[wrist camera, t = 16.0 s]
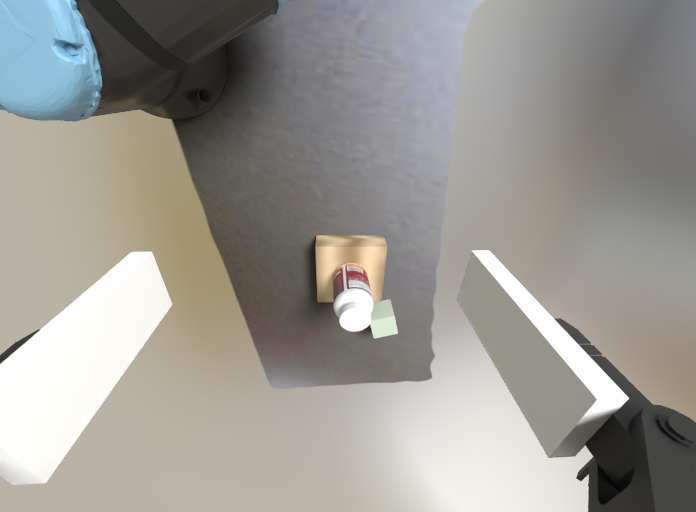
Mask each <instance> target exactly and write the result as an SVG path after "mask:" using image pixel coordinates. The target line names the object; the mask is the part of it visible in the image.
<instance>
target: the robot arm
mask: <svg viewBox="0 0 696 512" xmlns="http://www.w3.org/2000/svg"><path fill="white" fill-rule="evenodd" d="M290 1H291V0H0V109H1V110H5V111H7V112H9V113H13V114H15V115H17V116H20V117H24V118H28V119H34V120H64V121H79V120H81V119H87V118H88V117H91V116H98V115H105V114H111V113H118V112H125V111H131V110H138V109H141V110H143V111H145V112H147V113H150V114H152V115H155V116H159V117H163V118H168V119H185V118H190V117H194V116H197V115H200V114H202V113H204V112H206V111H207V110H209V109H210V108H211V107H212V106H213V105H214V104H215V103H216V102H217V101H218V99H219V98H220V96H221V94H222V92H223V90H224V87H225V84H226V79H227V70H228V62H227V53H226V47H225V43H227V42H229V41H230V40H232V39H233V38H235V37H236V36H238V35H240V34H241V33H243V32H244V31H246V30H247V29H249V28H251V27H252V26H254V25H255V24H257V23H258V22H260V21H262V20H263V19H265V18H266V17H268V16H269V15H271V14H273V15H277V14H279V13H280V11H281V10H282V9H283V7H284V5H285V4H287V3H288V2H290ZM457 301H458V303H459V305H460V306H461V308H462V310H463V312H464V313H465V315H466V317H467V318H468V320H469V322H470V324H471V325H472V327H473V329H474V330H475V332H476V334H477V335H478V337H479V339H480V341H481V343H482V344H483V346H484V348H485V349H486V351H487V353H488V354H489V356H490V358H491V360H492V361H493V363H494V365H495V366H496V368H497V370H498V372H499V373H500V375H501V377H502V379H503V380H504V382H505V384H506V385H507V387H508V389H509V391H510V392H511V394H512V396H513V397H514V399H515V401H516V403H517V404H518V406H519V407H520V409H521V411H522V413H523V415H524V416H525V418H526V420H527V421H528V423H529V425H530V427H531V428H532V430H533V432H534V433H535V435H536V437H537V439H538V440H539V442H540V444H541V446H542V447H543V449H544V451H545V452H546V454H547V456H548V457H549V458H552V457H571V456H575V455H576V454H577V453H578V452H579V451H580V450H581V449H582V448H583V447H584V446H585V445H586V446H587V448H588V449H589V451H590V452H591V454H592V455H593V456H594V457H593V458H592V459H591V460H590V461H589V462H588V463H587V464H586V465H585V466H584V467H583V468H582V469H581V470H580V471H579V472H578V475H577V479H578V480H580V481H582V480H583V479H584V478H585V477H586V476H587V475H588V474H589V484H588V486H589V503H588V504H589V505H588V512H696V423H695V422H694V421H693V420H691V419H690V418H688V417H686V416H685V415H683V414H681V413H679V412H677V411H675V410H673V409H670V408H667V407H664V406H661V405H653V404H652V403H651V402H650V401H649V400H647V399H646V398H645V397H644V396H643V395H642V394H641V393H640V392H639V391H638V390H637V389H636V388H635V387H634V386H633V385H632V384H631V383H630V382H629V381H628V380H627V379H626V378H625V377H624V376H623V375H622V374H621V373H620V372H619V371H618V370H617V369H616V368H615V367H614V366H613V365H612V364H611V363H610V362H609V361H608V360H607V359H606V358H605V357H602V354H601V353H600V352H599V351H598V350H597V349H596V348H595V347H594V346H592V345H591V343H590V342H589V341H588V340H587V339H586V338H585V337H584V336H583V335H582V334H581V333H580V332H579V331H578V330H577V329H576V328H574V327H573V326H571V325H570V324H568V323H566V322H565V321H564V320H562V319H554V318H553V317H552V316H551V315H550V314H548V312H547V311H546V310H545V309H544V308H543V307H542V306H541V305H540V304H539V303H538V302H537V301H536V300H535V298H534V297H533V296H532V295H531V294H530V293H529V292H528V291H527V290H526V289H525V288H524V287H523V286H522V285H521V284H520V283H519V282H518V280H517V279H516V278H515V277H514V276H513V275H512V274H511V273H510V272H509V271H508V270H507V269H506V268H505V267H504V266H503V265H502V264H501V263H500V262H499V260H498V259H497V258H495V256H494V255H493V254H492V253H491V252H490V251H472V252H471V255H470V259H469V262H468V265H467V269H466V272H465V275H464V278H463V282H462V285H461V289H460V292H459V295H458V298H457ZM171 306H172V302H171V300H170V298H169V295H168V292H167V289H166V287H165V284H164V282H163V279H162V277H161V274H160V272H159V269H158V266H157V264H156V261H155V259H154V256H153V254H152V252H131V253H130V254H129V255H128V256H126V257H125V258H124V259H123V260H122V261H121V262H119V263H118V264H117V265H116V266H115V267H114V268H112V269H111V270H110V271H109V272H108V273H106V274H105V275H104V276H103V277H102V278H101V279H100V280H98V281H97V282H96V283H95V284H94V285H92V286H91V287H90V288H89V289H88V290H87V291H85V292H84V293H83V294H82V295H81V296H80V297H78V298H77V299H76V300H75V301H74V302H73V303H71V304H70V305H69V306H68V307H67V308H66V309H64V310H63V311H62V312H61V313H60V314H59V315H57V316H56V317H55V318H54V319H53V320H51V321H50V322H49V323H48V324H47V325H46V326H44V327H43V328H42V329H41V330H37V331H35V332H33V333H32V334H30V335H28V336H26V337H25V338H23V339H21V340H20V341H18V342H16V343H15V344H13V345H12V346H11V347H10V348H9V349H7V350H6V351H5V352H4V353H3V354H1V355H0V476H1V477H3V478H4V479H5V480H7V481H8V482H10V483H11V484H12V485H18V484H37V483H46V482H47V481H48V479H49V478H50V476H51V475H52V474H53V472H54V471H55V469H56V468H57V466H58V465H59V463H60V462H61V461H62V459H63V458H64V457H65V455H66V454H67V452H68V451H69V450H70V448H71V447H72V445H73V444H74V442H75V441H76V440H77V438H78V437H79V435H80V434H81V433H82V431H83V430H84V428H85V427H86V426H87V424H88V423H89V421H90V420H91V418H92V417H93V416H94V414H95V413H96V412H97V410H98V409H99V407H100V406H101V405H102V403H103V402H104V400H105V399H106V397H107V396H108V395H109V393H110V392H111V390H112V389H113V388H114V386H115V385H116V383H117V382H118V381H119V379H120V378H121V376H122V375H123V374H124V372H125V371H126V369H127V368H128V366H129V365H130V364H131V362H132V361H133V359H134V358H135V357H136V355H137V354H138V352H139V351H140V349H141V348H142V347H143V345H144V344H145V342H146V341H147V340H148V338H149V337H150V335H151V334H152V333H153V331H154V330H155V328H156V327H157V326H158V324H159V323H160V321H161V320H162V319H163V317H164V316H165V314H166V313H167V312H168V310H169V309H170V307H171Z"/></svg>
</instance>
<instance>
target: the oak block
mask: <svg viewBox="0 0 696 512" xmlns="http://www.w3.org/2000/svg"><path fill="white" fill-rule="evenodd" d="M315 249H316V276H317V302H334V299H333V274H334V272H335V270H336V269H337V268H338V267H339V266H341V265H343V264H346V263H356V264H359V265H361V266H362V267H363V268H364V269H365V270H366V272H367V275H368V279H369V284H370V289H371V294H372V298H373V302H381V297H382V288H383V280H384V271H385V263H386V254H387V244H386V241H385V238H384V236H316V246H315Z"/></svg>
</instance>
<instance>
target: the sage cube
mask: <svg viewBox="0 0 696 512" xmlns="http://www.w3.org/2000/svg"><path fill="white" fill-rule="evenodd" d="M370 326H371V329H372V333H373V337H374V338H379V337H383V336H388V335H393V334H398V331H397V326H396V321H395V316H394V312H393V309H392V305H391V301H390V299H389V300H384V301H381V302H375V303H373V310H372V312H371V323H370Z"/></svg>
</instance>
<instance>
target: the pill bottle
mask: <svg viewBox="0 0 696 512" xmlns="http://www.w3.org/2000/svg"><path fill="white" fill-rule="evenodd" d="M333 299H334V311H335V313H336V315H337V316H338V317H339V322H340V325H341V326H342V327H343V328H344V329H346V330H348V331H353V332H356V331H361V330H364V329H365V328H367V327H368V326H369V324H370V323H371V312H372V310H373V298H372V294H371V289H370V284H369V279H368V275H367V272H366V270H365V269H364V268H363V267H362V266H361V265H359V264H356V263H346V264H343V265H341V266H339V267H338V268H337V269H336V270H335V272H334V274H333Z"/></svg>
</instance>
